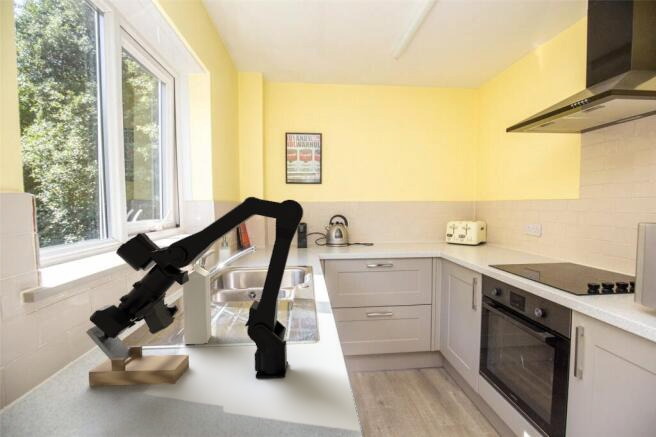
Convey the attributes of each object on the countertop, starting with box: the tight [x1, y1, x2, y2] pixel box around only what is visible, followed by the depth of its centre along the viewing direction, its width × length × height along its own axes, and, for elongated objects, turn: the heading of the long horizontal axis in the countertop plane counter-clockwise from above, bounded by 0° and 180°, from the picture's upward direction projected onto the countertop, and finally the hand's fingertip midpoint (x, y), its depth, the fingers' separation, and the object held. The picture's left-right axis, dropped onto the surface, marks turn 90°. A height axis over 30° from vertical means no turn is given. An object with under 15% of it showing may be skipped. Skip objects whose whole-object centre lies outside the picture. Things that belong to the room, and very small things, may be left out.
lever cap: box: [85, 325, 133, 360], centre depth 69 cm, size 2×5×10 cm
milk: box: [182, 261, 212, 346], centre depth 88 cm, size 6×6×22 cm
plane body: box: [88, 345, 190, 387], centre depth 69 cm, size 18×7×5 cm, turn 91°
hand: (106, 336), depth 69 cm, fingers closed, pressing on lever cap
